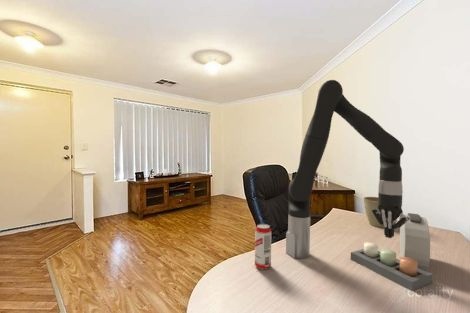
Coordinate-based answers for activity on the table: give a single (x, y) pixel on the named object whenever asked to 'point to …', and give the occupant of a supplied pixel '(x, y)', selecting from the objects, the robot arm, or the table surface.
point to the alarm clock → (416, 240)
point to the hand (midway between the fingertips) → (389, 237)
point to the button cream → (370, 250)
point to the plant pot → (370, 205)
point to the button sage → (388, 257)
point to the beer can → (263, 246)
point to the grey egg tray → (393, 271)
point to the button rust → (408, 266)
